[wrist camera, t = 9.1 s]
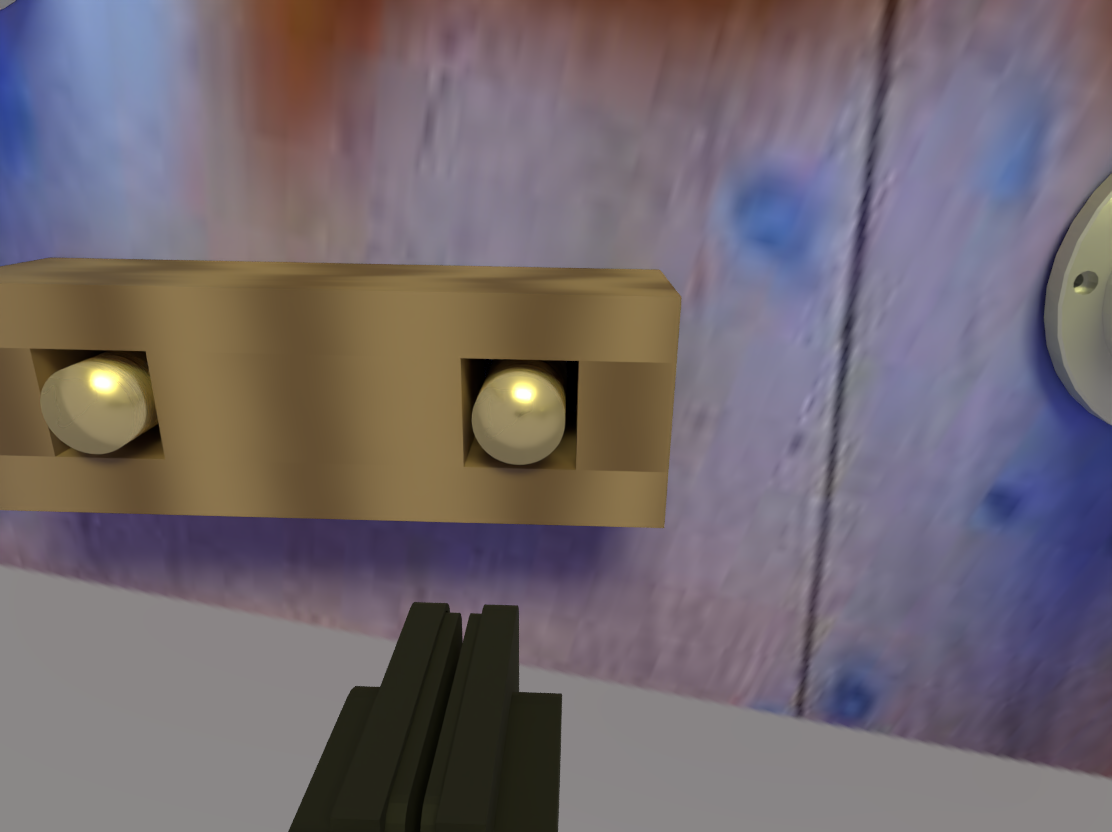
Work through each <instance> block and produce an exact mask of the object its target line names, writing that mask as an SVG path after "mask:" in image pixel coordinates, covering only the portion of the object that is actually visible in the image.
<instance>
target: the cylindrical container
mask: <svg viewBox="0 0 1112 832" xmlns="http://www.w3.org/2000/svg"><path fill="white" fill-rule="evenodd" d="M15 1H16V0H0V10H1V9H4V8H5V7H7V6H8V5H10V4H12V3H13V2H15Z"/></svg>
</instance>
